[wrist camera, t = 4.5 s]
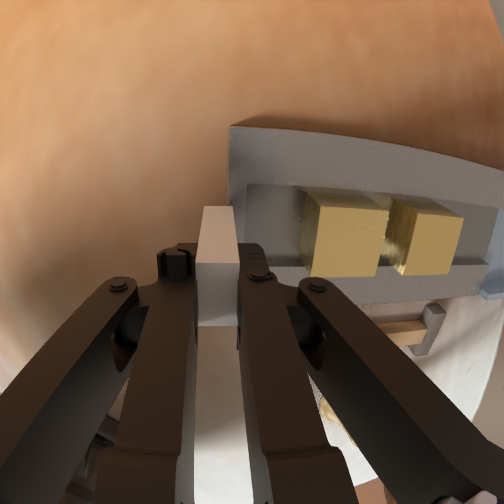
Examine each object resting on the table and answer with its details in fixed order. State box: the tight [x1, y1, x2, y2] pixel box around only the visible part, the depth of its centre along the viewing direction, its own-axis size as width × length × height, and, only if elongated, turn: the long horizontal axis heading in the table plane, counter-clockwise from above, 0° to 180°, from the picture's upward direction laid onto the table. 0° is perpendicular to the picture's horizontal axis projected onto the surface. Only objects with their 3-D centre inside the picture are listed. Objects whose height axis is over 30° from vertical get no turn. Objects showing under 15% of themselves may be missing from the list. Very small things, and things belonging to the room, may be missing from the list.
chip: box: [382, 198, 464, 276], centre depth 18 cm, size 4×4×3 cm
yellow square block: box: [298, 191, 389, 277], centre depth 18 cm, size 4×4×3 cm
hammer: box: [376, 304, 446, 356], centre depth 24 cm, size 13×5×2 cm, turn 86°
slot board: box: [226, 126, 504, 305], centre depth 20 cm, size 22×11×2 cm, turn 86°
